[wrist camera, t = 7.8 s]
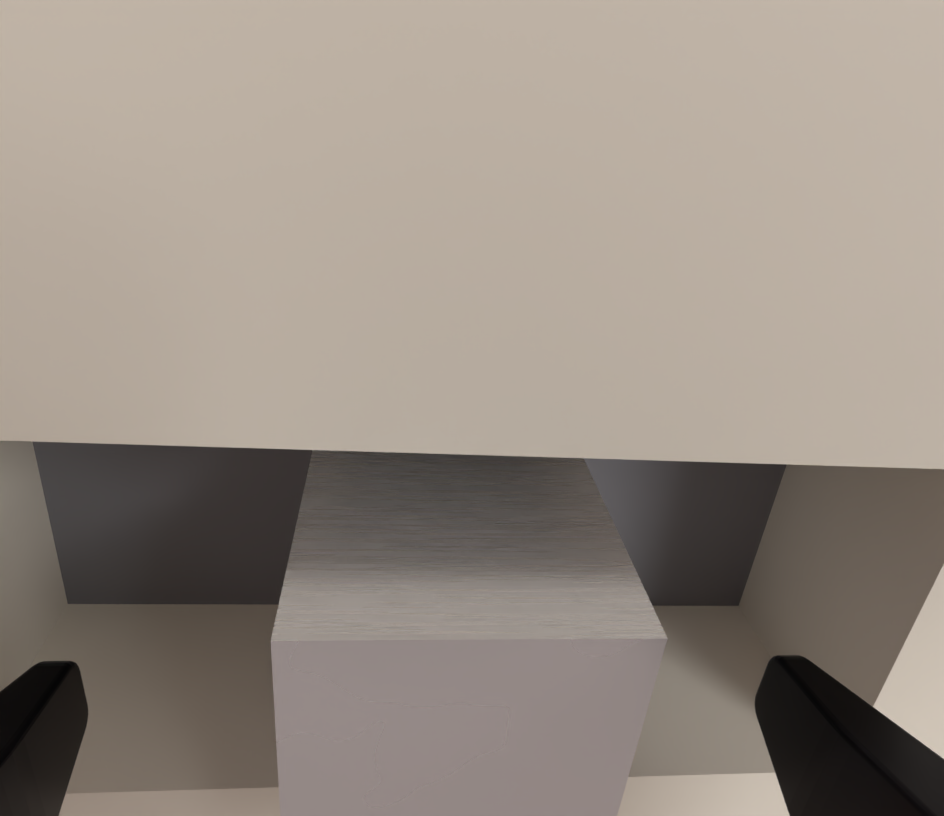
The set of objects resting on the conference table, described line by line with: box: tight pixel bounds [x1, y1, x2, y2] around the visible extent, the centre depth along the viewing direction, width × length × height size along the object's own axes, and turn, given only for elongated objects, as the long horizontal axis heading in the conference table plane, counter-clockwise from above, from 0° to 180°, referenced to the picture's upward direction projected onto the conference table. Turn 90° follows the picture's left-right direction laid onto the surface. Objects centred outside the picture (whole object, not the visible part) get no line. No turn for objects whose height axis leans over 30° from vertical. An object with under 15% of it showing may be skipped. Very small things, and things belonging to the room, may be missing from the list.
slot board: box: [0, 0, 944, 816], centre depth 12 cm, size 24×18×4 cm
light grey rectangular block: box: [271, 450, 668, 816], centre depth 10 cm, size 4×4×6 cm
